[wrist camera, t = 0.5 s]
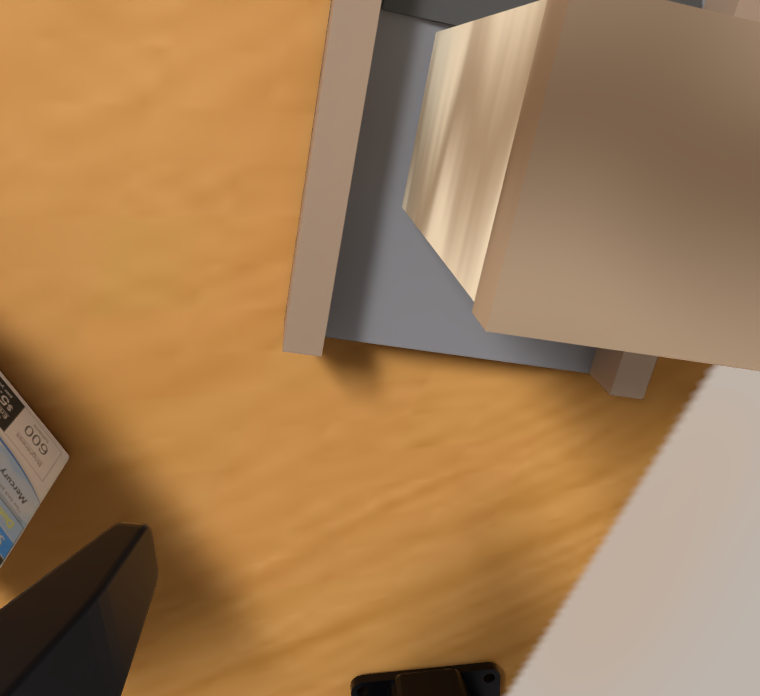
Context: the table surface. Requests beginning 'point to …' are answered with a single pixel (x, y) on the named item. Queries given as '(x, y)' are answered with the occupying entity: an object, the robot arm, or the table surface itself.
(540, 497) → the table surface
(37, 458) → the light bulb box
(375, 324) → the box
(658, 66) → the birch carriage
